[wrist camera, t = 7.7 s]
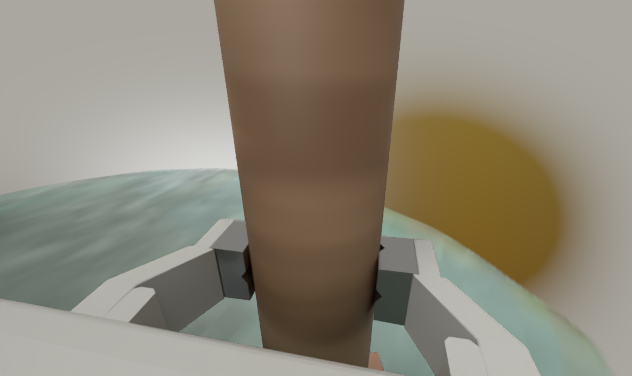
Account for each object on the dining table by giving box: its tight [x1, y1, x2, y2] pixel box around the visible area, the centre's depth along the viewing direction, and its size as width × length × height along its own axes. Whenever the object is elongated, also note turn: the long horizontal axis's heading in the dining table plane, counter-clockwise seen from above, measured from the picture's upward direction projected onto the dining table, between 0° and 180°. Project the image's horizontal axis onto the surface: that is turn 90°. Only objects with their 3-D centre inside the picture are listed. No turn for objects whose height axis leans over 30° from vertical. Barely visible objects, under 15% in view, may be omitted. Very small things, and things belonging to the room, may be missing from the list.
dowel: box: [214, 0, 404, 368], centre depth 9 cm, size 4×4×16 cm
